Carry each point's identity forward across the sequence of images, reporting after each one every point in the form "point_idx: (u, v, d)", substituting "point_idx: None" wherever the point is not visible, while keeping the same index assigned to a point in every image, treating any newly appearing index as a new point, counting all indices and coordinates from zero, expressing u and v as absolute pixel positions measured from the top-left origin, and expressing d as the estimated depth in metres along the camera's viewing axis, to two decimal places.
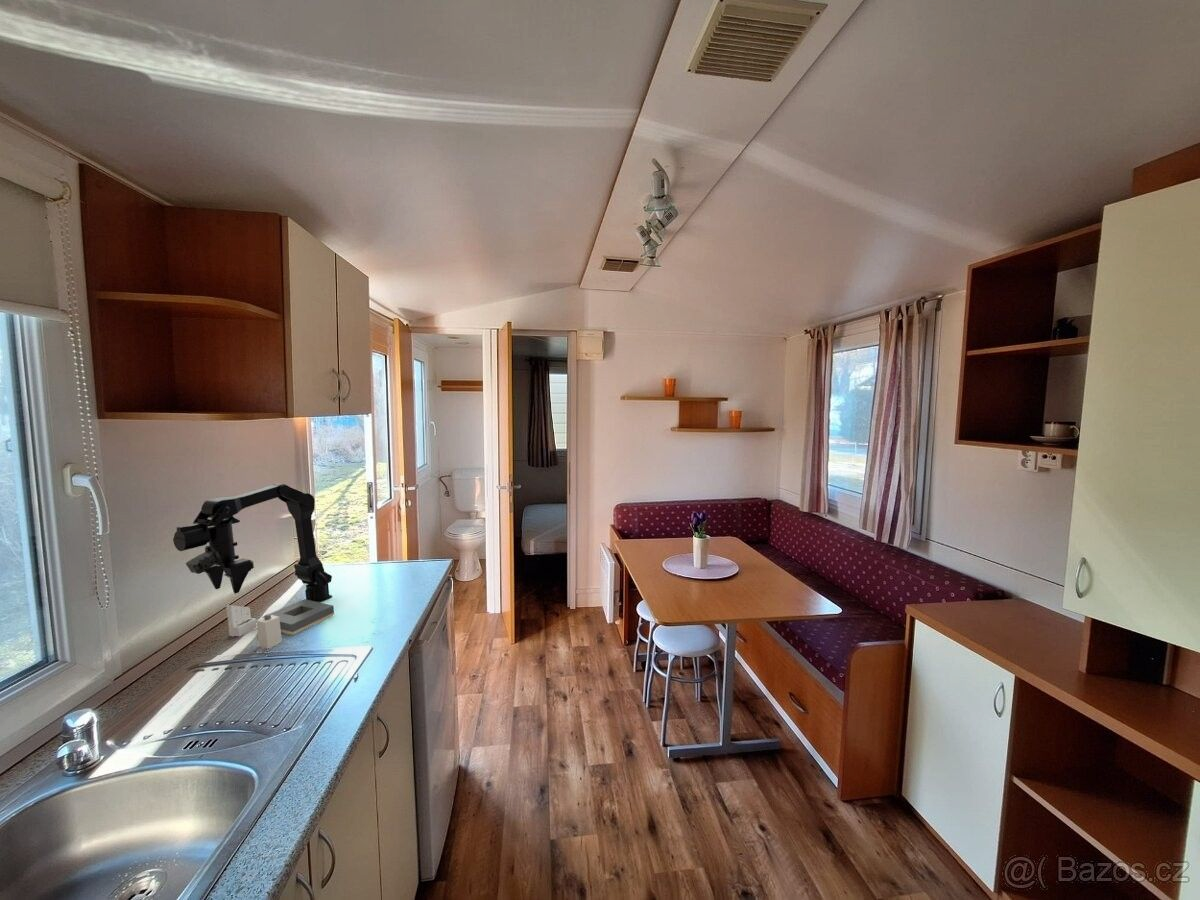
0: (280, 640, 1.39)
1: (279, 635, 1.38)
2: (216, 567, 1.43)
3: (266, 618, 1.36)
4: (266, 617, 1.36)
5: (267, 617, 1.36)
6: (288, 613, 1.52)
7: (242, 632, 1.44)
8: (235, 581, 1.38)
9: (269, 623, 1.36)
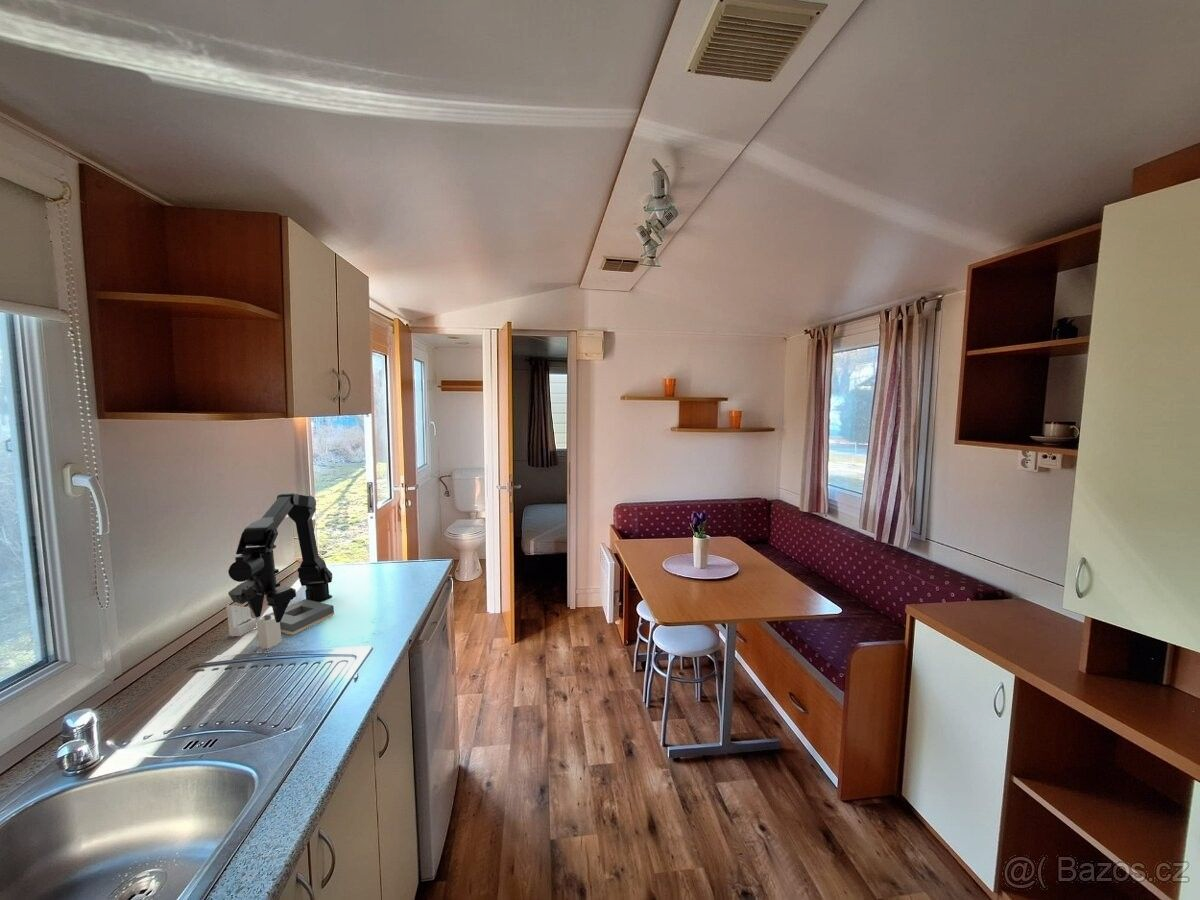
0: (280, 640, 1.39)
1: (279, 635, 1.38)
2: (256, 595, 1.39)
3: (266, 618, 1.36)
4: (266, 617, 1.36)
5: (267, 617, 1.36)
6: (288, 613, 1.52)
7: (242, 632, 1.44)
8: (277, 610, 1.34)
9: (269, 623, 1.36)
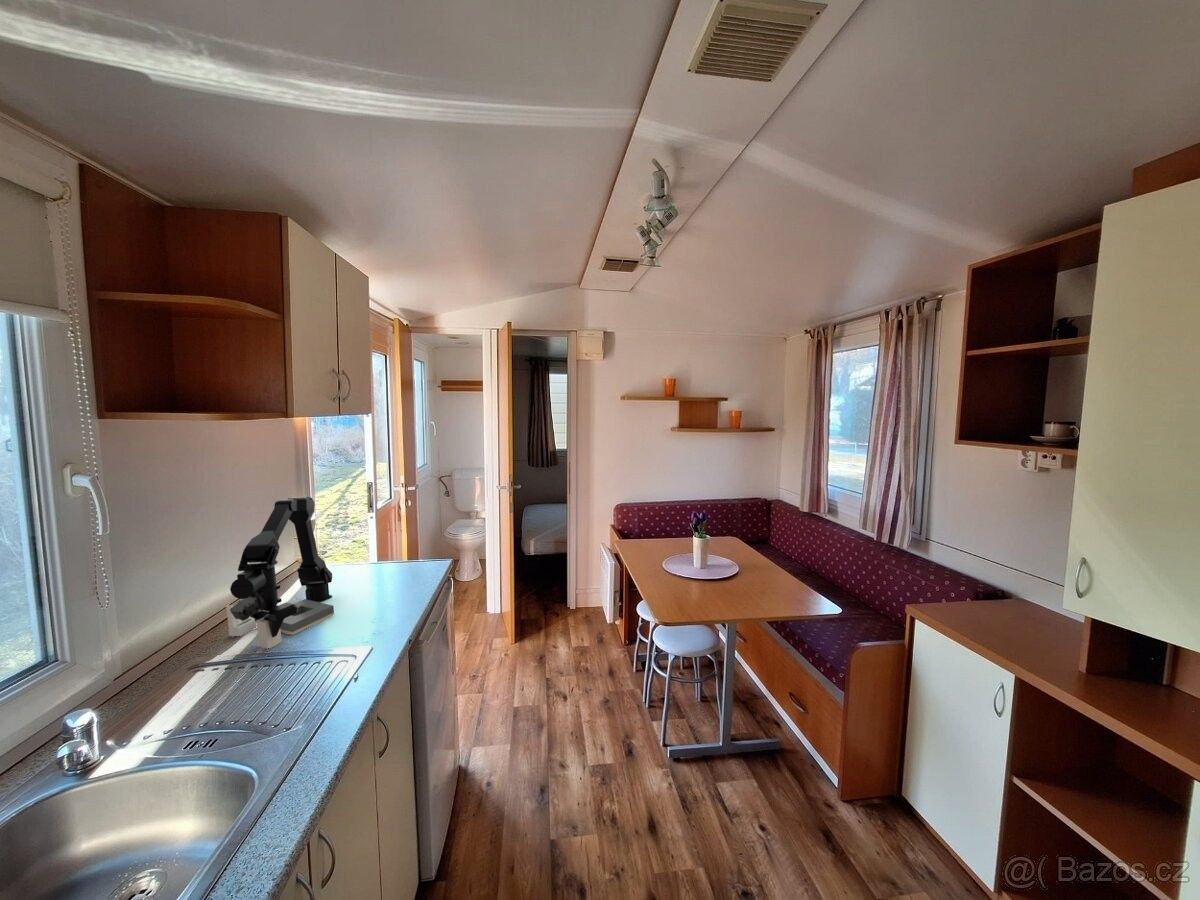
0: (280, 640, 1.39)
1: (279, 635, 1.38)
2: (263, 612, 1.39)
3: None
4: None
5: None
6: None
7: (242, 632, 1.44)
8: (273, 625, 1.35)
9: None
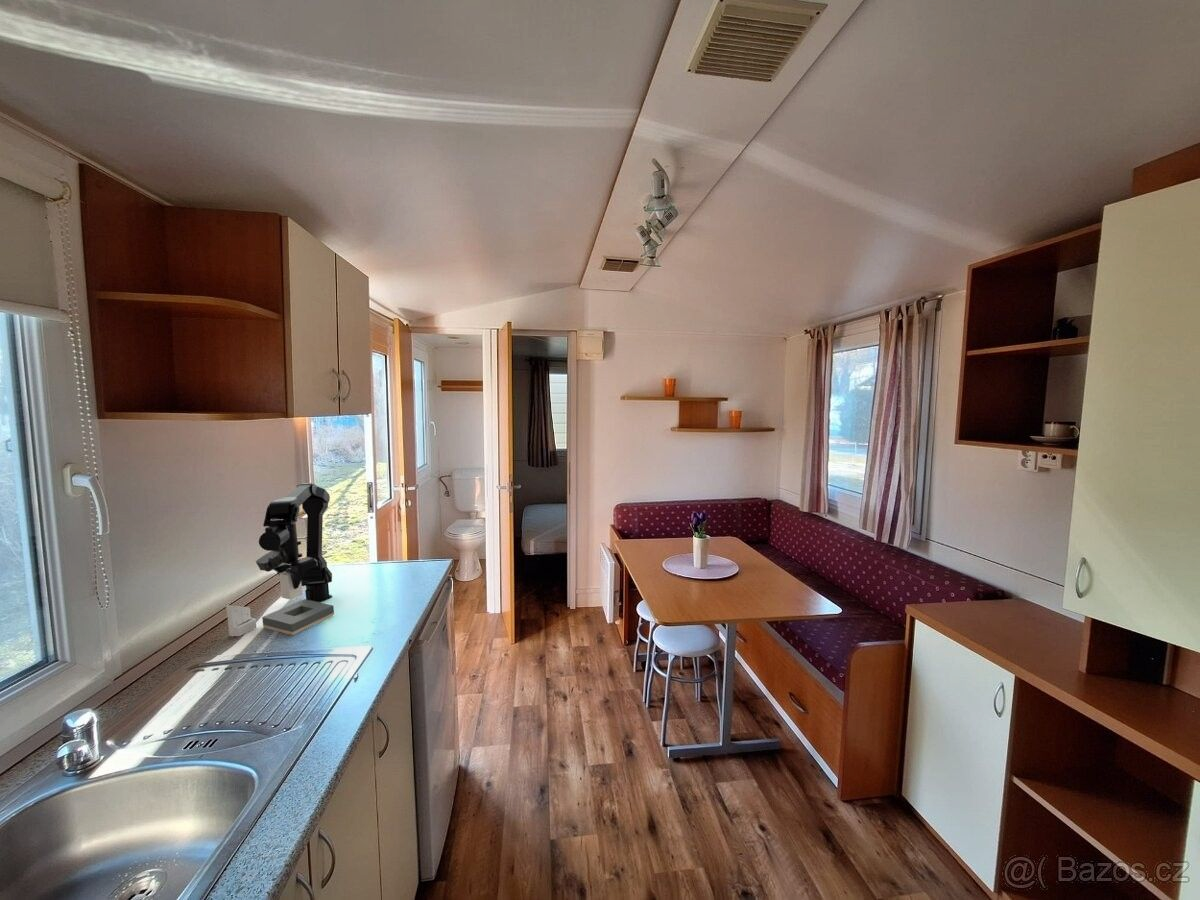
0: (301, 592, 1.50)
1: (300, 587, 1.49)
2: (285, 566, 1.49)
3: None
4: None
5: None
6: (288, 613, 1.52)
7: (242, 632, 1.44)
8: (295, 577, 1.46)
9: None
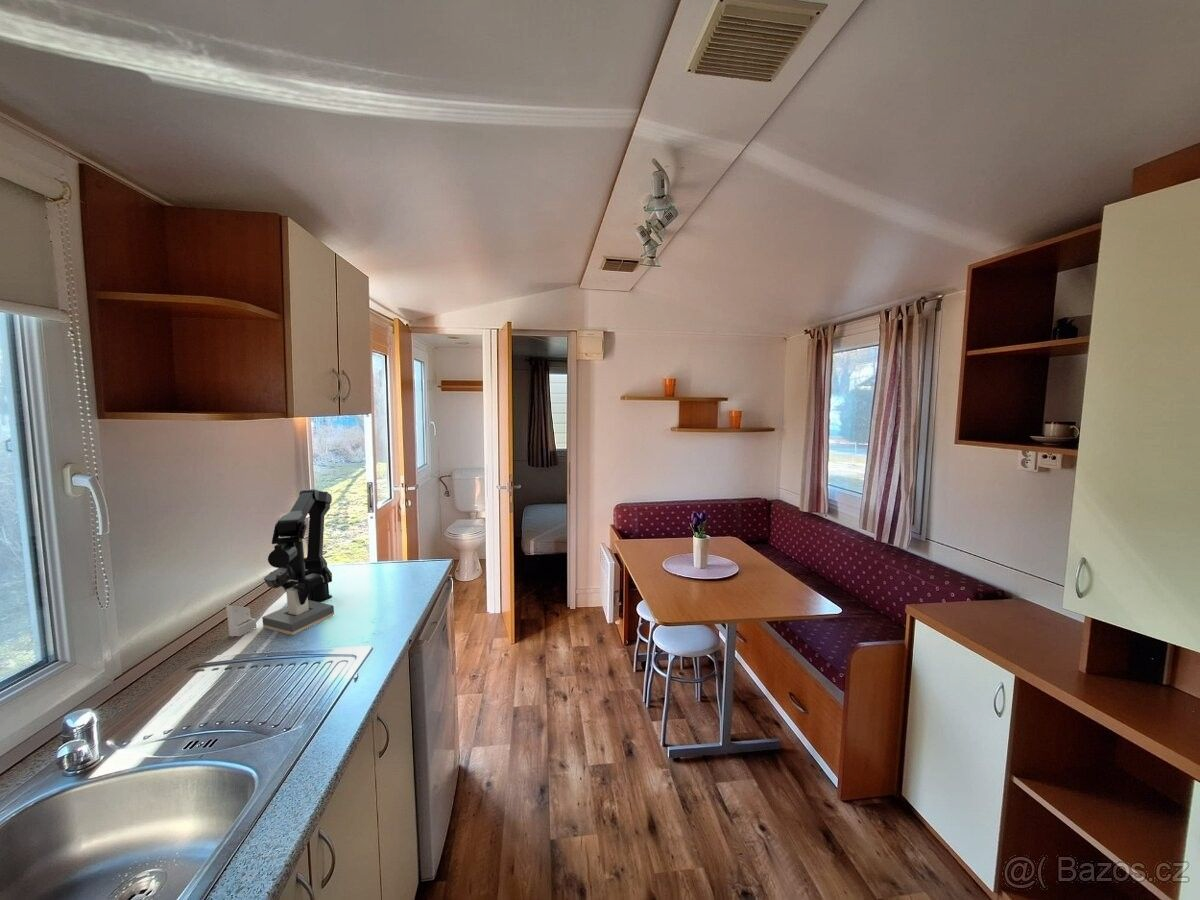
0: (307, 608, 1.53)
1: (306, 603, 1.52)
2: (292, 582, 1.52)
3: None
4: None
5: None
6: (288, 613, 1.52)
7: (242, 632, 1.44)
8: (302, 593, 1.49)
9: (297, 592, 1.49)
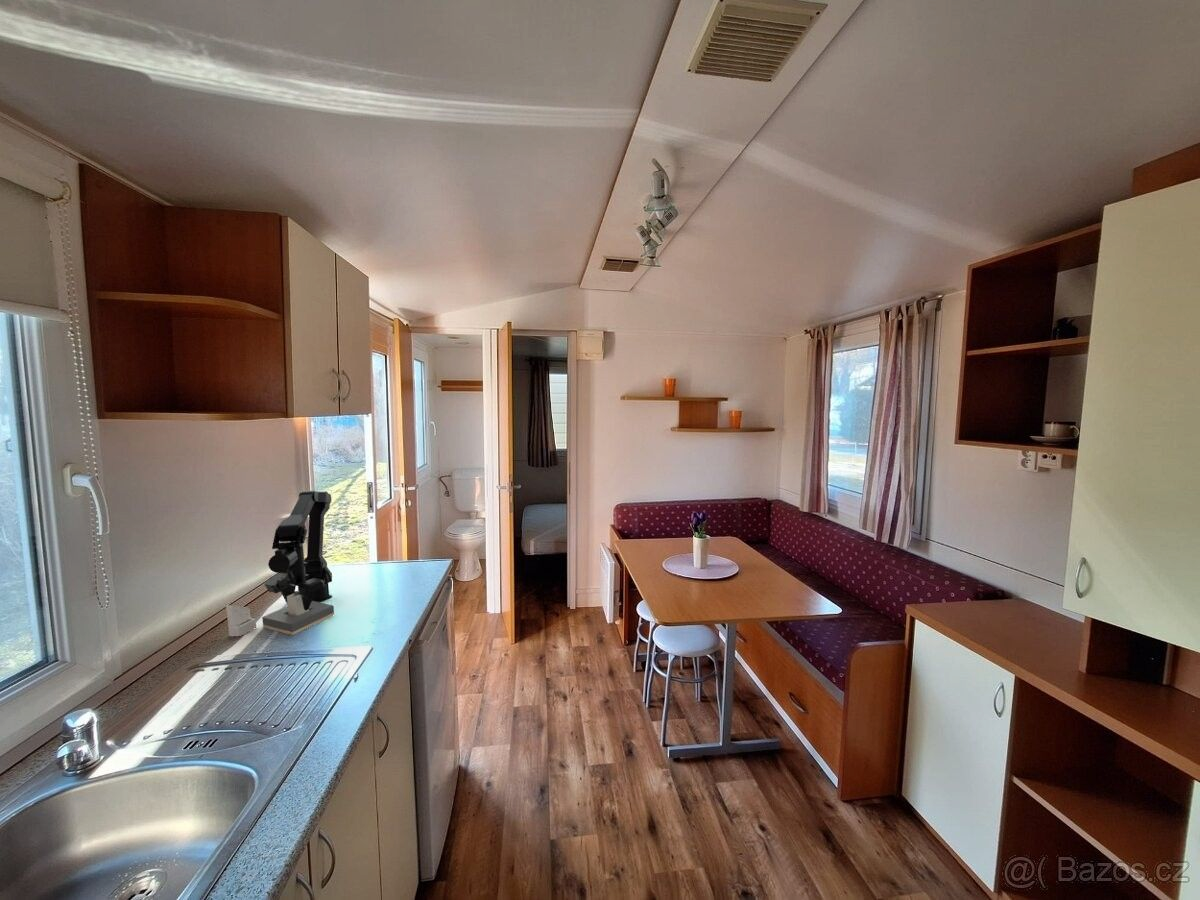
0: None
1: (307, 610, 1.53)
2: (289, 586, 1.53)
3: (295, 594, 1.50)
4: (295, 593, 1.50)
5: (296, 593, 1.51)
6: None
7: (242, 632, 1.44)
8: (306, 599, 1.49)
9: (298, 598, 1.50)
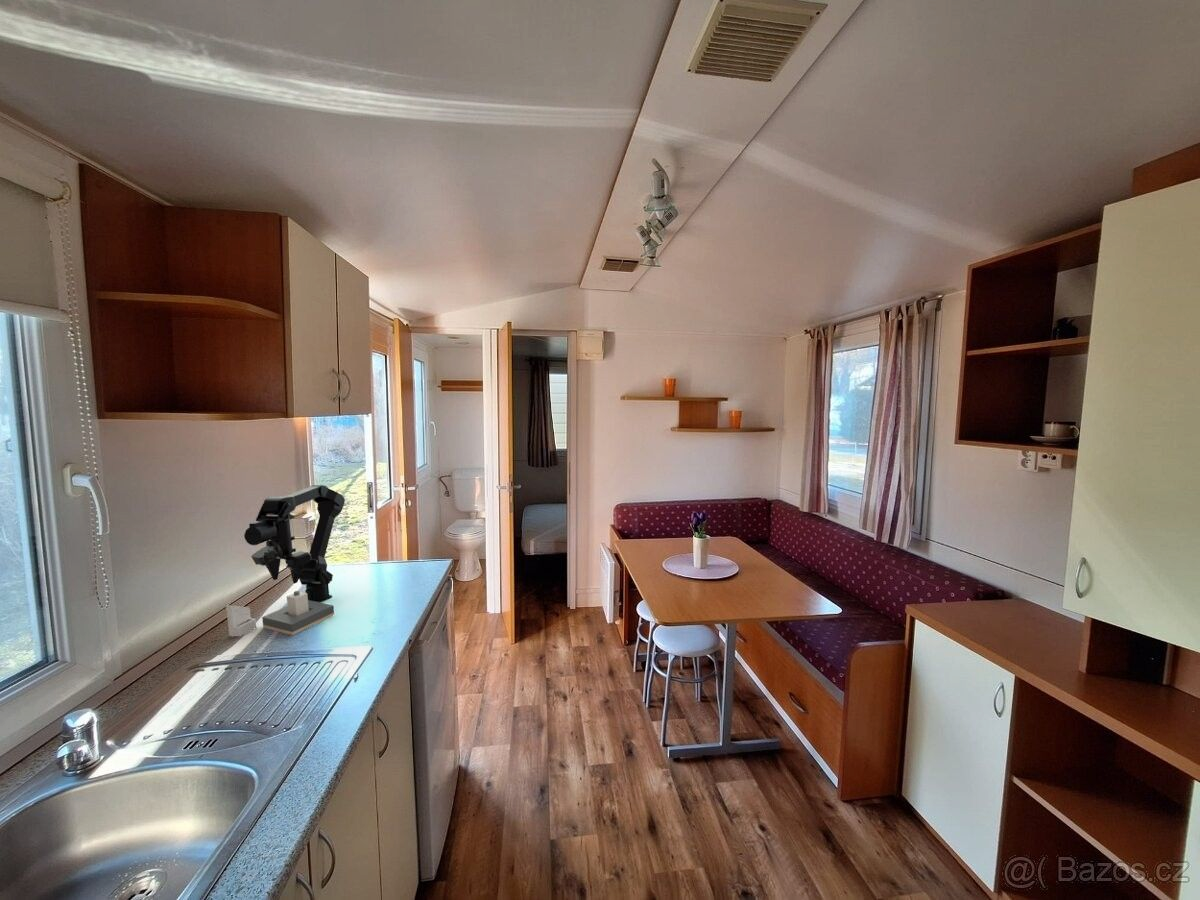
0: None
1: (307, 610, 1.53)
2: (274, 560, 1.55)
3: (295, 594, 1.50)
4: (295, 593, 1.50)
5: (296, 593, 1.51)
6: None
7: (242, 632, 1.44)
8: (295, 572, 1.51)
9: (298, 598, 1.50)
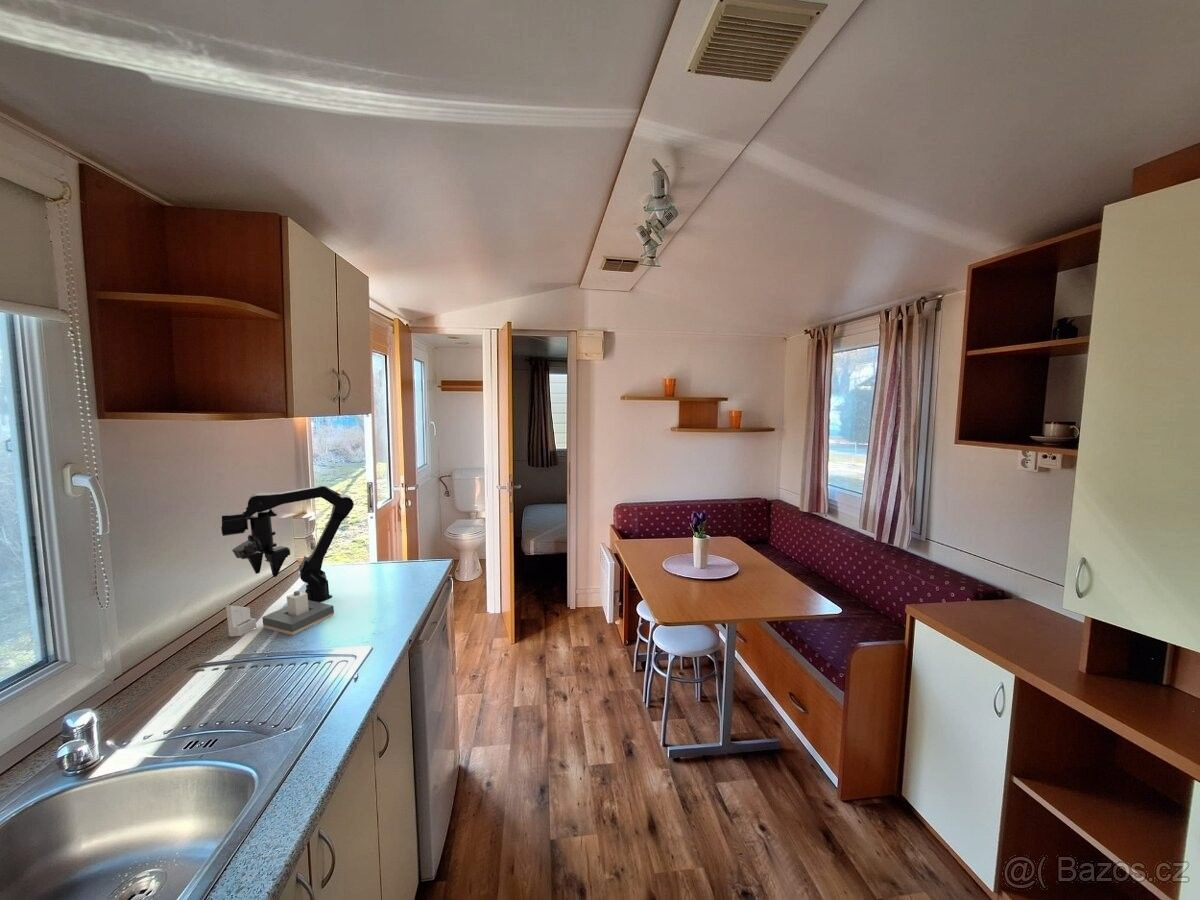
0: None
1: (307, 610, 1.53)
2: (256, 554, 1.61)
3: (295, 594, 1.50)
4: (295, 593, 1.50)
5: (296, 593, 1.51)
6: None
7: (242, 632, 1.44)
8: (274, 566, 1.56)
9: (298, 598, 1.50)
